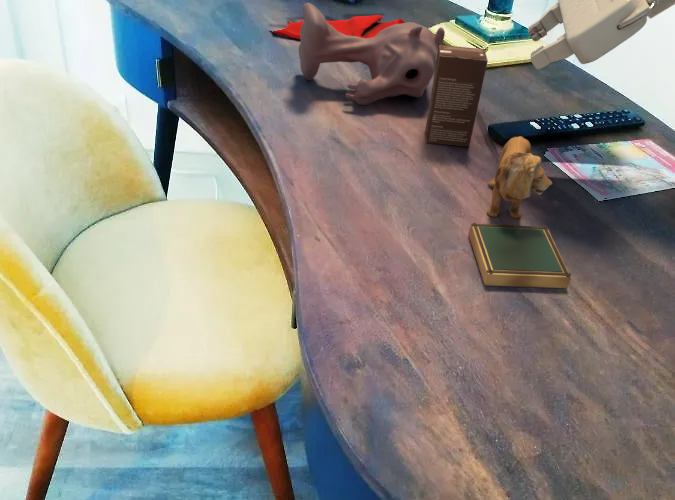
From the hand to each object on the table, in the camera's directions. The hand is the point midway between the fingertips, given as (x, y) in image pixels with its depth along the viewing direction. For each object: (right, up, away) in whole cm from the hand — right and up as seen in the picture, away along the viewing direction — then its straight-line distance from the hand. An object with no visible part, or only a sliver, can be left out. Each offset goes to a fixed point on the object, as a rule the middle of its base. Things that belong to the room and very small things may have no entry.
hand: (531, 48), depth 78 cm
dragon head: (-19, 0, +20) cm, 27 cm away
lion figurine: (-3, -19, -2) cm, 19 cm away
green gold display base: (-5, -25, -11) cm, 28 cm away
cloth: (-23, +14, +38) cm, 46 cm away
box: (-9, -9, +9) cm, 16 cm away
